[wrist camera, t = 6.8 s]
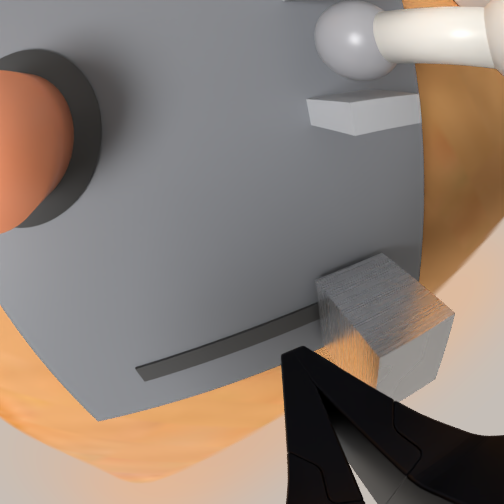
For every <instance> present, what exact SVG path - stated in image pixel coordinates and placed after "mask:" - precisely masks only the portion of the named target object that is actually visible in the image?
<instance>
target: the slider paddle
mask: <svg viewBox="0 0 504 504" xmlns="http://www.w3.org/2000/svg"><path fill="white" fill-rule="evenodd" d="M315 283H316V290H317V298H318V306H319V314H320V323H321V331H322V341H323V346H324V347H325V349H326V350H327V352H328V353H329V355H330V356H331V358H332V359H333V360H334V362H335V363H336V365H337V366H338V367H340V368H341V369H343V370H345V371H346V372H348V373H350V374H351V375H353V376H355V377H356V378H358V379H360V380H361V381H363V382H365V383H366V384H368V385H370V386H371V387H373V388H375V389H377V390H378V391H380V392H382V393H383V394H385V395H387V396H389V397H390V398H392V399H394V401H398V402H399V401H401V400H403V399H405V398H406V397H408V396H409V395H411V394H413V393H414V392H415V391H417V390H419V389H421V388H422V387H424V386H425V385H427V384H428V383H430V382H431V381H433V380H434V379H435V378H436V375H437V372H438V369H439V366H440V363H441V360H442V357H443V354H444V351H445V347H446V344H447V341H448V338H449V334H450V330H451V326H452V323H453V319H454V315H455V313H454V312H453V311H452V310H451V309H450V308H448V307H447V306H446V305H445V304H444V303H443V302H442V301H440V300H439V299H438V298H437V297H436V296H435V295H433V294H432V293H431V292H430V291H429V290H427V289H426V288H425V287H424V286H423V285H421V284H420V283H419V282H418V281H417V280H415V279H414V278H413V277H412V276H411V275H409V274H408V273H407V272H406V271H404V270H403V269H402V268H401V267H399V266H398V265H397V264H396V263H394V262H393V261H392V260H391V259H389V258H388V257H387V256H386V255H384V254H383V253H380V254H377V255H375V256H373V257H370V258H368V259H366V260H363V261H361V262H359V263H356V264H354V265H351V266H349V267H347V268H344V269H342V270H339V271H337V272H334V273H332V274H329V275H327V276H325V277H322V278H320V279H317V280H315Z"/></svg>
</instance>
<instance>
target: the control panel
mask: <svg viewBox="0 0 504 504" xmlns="http://www.w3.org/2000/svg"><path fill="white" fill-rule="evenodd" d="M342 1H349V0H0V70H5V71H13V72H20V73H27V74H33V75H37V76H40V77H42V78H44V79H46V80H48V81H49V82H50V83H52V84H53V85H54V86H55V87H56V88H57V89H58V90H59V91H60V92H61V94H62V95H63V96H64V98H65V100H66V102H67V104H68V106H69V109H70V112H71V116H72V120H73V127H74V143H73V151H72V155H71V159H70V162H69V165H68V168H67V170H66V172H65V174H64V176H63V177H62V179H61V181H60V182H59V184H58V185H57V186H56V188H55V189H54V190H53V191H52V192H51V193H50V194H49V195H48V196H47V197H46V198H45V199H44V200H43V201H42V202H41V203H40V204H39V205H38V206H37V208H36V209H35V210H34V211H33V212H32V213H31V214H30V215H29V216H28V217H27V219H25V220H24V221H23V222H22V223H21V224H20V225H18V226H16V227H15V228H13V229H12V230H9V231H7V232H5V233H1V234H0V305H1V307H2V308H3V310H4V311H5V313H6V314H7V315H8V317H9V318H10V320H11V321H12V323H13V324H14V325H15V327H16V328H17V330H18V331H19V332H20V334H21V335H22V336H23V338H24V339H25V340H26V342H27V343H28V344H29V346H30V347H31V348H32V349H33V351H34V352H35V353H36V355H37V356H38V357H39V358H40V359H41V361H42V362H43V363H44V364H45V365H46V367H47V368H48V369H49V370H50V371H51V373H52V374H53V375H54V376H55V377H56V378H57V379H58V380H59V382H60V383H61V384H62V385H63V386H64V387H65V388H66V389H67V390H68V391H69V393H70V394H71V395H72V396H73V397H74V398H75V399H76V400H77V401H78V402H79V403H80V404H81V405H82V406H83V407H84V408H85V409H86V410H87V411H88V412H89V413H90V414H91V415H92V416H93V417H94V418H95V419H96V420H97V421H102V420H107V419H111V418H115V417H120V416H124V415H128V414H132V413H136V412H140V411H143V410H147V409H151V408H155V407H158V406H162V405H165V404H169V403H172V402H176V401H179V400H182V399H186V398H189V397H192V396H195V395H198V394H202V393H205V392H208V391H211V390H214V389H217V388H220V387H223V386H226V385H228V384H231V383H234V382H237V381H240V380H242V379H245V378H248V377H251V376H253V375H256V374H259V373H261V372H264V371H267V370H269V369H272V368H274V367H277V366H279V365H281V354H283V353H285V352H288V351H290V350H293V349H295V348H297V347H300V346H306V347H307V348H309V349H310V350H312V351H315V350H318V349H320V348H322V347H324V346H323V341H322V331H321V323H320V314H319V306H318V298H317V290H316V283H315V280H317V279H320V278H322V277H325V276H327V275H329V274H332V273H334V272H337V271H339V270H342V269H344V268H347V267H349V266H351V265H354V264H356V263H359V262H361V261H363V260H366V259H368V258H370V257H373V256H375V255H377V254H380V253H383V254H384V255H386V256H387V257H388V258H389V259H391V260H392V261H393V262H394V263H396V264H397V265H398V266H399V267H401V268H402V269H403V270H404V271H406V272H407V273H408V274H409V275H411V276H412V277H413V278H414V279H415V280H417V281H418V282H419V276H420V266H421V254H422V239H423V219H424V155H423V135H422V118H421V107H420V98H419V91H418V83H417V76H416V69H415V63H397V65H396V66H395V67H394V69H393V70H392V71H390V72H389V73H388V74H387V75H385V76H383V77H381V78H379V79H375V80H371V81H356V80H351V79H348V78H345V77H342V76H340V75H339V74H337V73H335V72H334V71H333V70H331V69H330V68H329V67H328V66H327V65H326V64H325V63H324V62H323V60H322V59H321V57H320V56H319V54H318V52H317V49H316V46H315V41H314V31H315V27H316V24H317V21H318V19H319V18H320V16H321V15H322V14H323V12H324V11H325V10H327V9H328V8H329V7H331V6H332V5H334V4H337V3H339V2H342ZM358 1H364V2H368V3H371V4H373V5H375V6H377V7H379V8H381V9H382V10H384V11H392V10H401V9H404V8H403V3H402V0H358Z"/></svg>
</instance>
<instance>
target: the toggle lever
mask: <svg viewBox="0 0 504 504" xmlns="http://www.w3.org/2000/svg"><path fill="white" fill-rule="evenodd" d="M314 41H315V46H316V49H317V52H318V54H319V56H320V57H321V59H322V60H323V62H324V63H325V64H326V65H327V66H328V67H329V68H330V69H331V70H333V71H334V72H335V73H337V74H339V75H340V76H342V77H345V78H348V79H351V80H356V81H371V80H375V79H379V78H381V77H383V76H385V75H387V74H388V73H389V72H390V71H392V70H393V69H394V67H395V66H396V65H397V63H427V64H451V65H465V66H476V67H485V68H494V69H497V70H498V71H499V72H500V73H501V74H502V75H503V76H504V0H491V1H490V2H489V3H488V4H487V5H486V6H485V7H426V8H412V9H401V10H392V11H384V10H382V9H381V8H379V7H377V6H375V5H373V4H371V3H368V2H364V1H358V0H349V1H342V2H339V3H337V4H334V5H332V6H331V7H329V8H328V9H327V10H325V11H324V12H323V14H322V15H321V16H320V18H319V19H318V21H317V24H316V27H315V31H314Z"/></svg>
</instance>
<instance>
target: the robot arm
mask: <svg viewBox="0 0 504 504" xmlns="http://www.w3.org/2000/svg"><path fill="white" fill-rule="evenodd" d="M281 368H282V383H283V397H284V412H285V428H286V444H287V453H288V454H287V464H288V487H287V499H286V504H365V502H364V501H363V497H362V494H361V492H360V489H359V487H358V485H357V482H356V480H355V477H354V475H353V473H352V470H351V468H350V466H349V464H350V465H351V466H352V468H353V469H354V471H355V472H356V474H357V475H358V476H359V478H360V479H361V481H362V482H363V483H364V485H365V487H366V488H367V489H368V491H369V492H370V494H371V495H372V496H373V498H374V499H375V501H376V502H377V504H504V435H500V436H482V435H477V434H472V433H469V432H466V431H463V430H461V429H458V428H455V427H453V426H450V425H447V424H444V423H442V422H439V421H437V420H434V419H432V418H429V417H427V416H425V415H422V414H420V413H418V412H416V411H414V410H412V409H410V408H408V407H406V406H405V405H403V404H401V403H399V402H398V401H394V399H392V398H390V397H389V396H387V395H385V394H383V393H382V392H380V391H378V390H377V389H375V388H373V387H371V386H370V385H368V384H366V383H365V382H363V381H361V380H360V379H358V378H356V377H355V376H353V375H351V374H350V373H348V372H346V371H345V370H343V369H341V368H340V367H338V366H336V365H335V364H333V363H331V362H330V361H328V360H327V359H325V358H323V357H322V356H320V355H318V354H317V353H315V352H314V351H312V350H310V349H309V348H307V347H306V346H300V347H297V348H295V349H293V350H290V351H288V352H285V353H283V354H281ZM348 462H349V463H348Z"/></svg>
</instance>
